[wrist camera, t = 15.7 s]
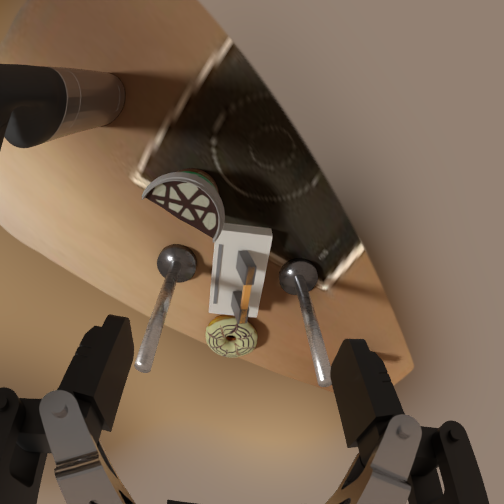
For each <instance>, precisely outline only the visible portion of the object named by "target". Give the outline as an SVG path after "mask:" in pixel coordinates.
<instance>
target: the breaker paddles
mask: <svg viewBox="0 0 504 504" xmlns="http://www.w3.org/2000/svg"><path fill="white" fill-rule="evenodd" d="M236 269H237V271H238V274H239V276H240V278H241V280H242V283H243V292H242V291H233V292H232V300H231V307H232V310H233V313H234V316H235V318H236V321H237V324H245V323H247V320H248V314H249V307H248V304H249V298H250V293H251V287H252V285H254V281H255V275H256V269H257V266H256V265H255V263H254V261H253V259H252V257H251V255H250V254H249V252H248V251H238V255H237V263H236Z"/></svg>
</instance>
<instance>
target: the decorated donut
mask: <svg viewBox="0 0 504 504" xmlns="http://www.w3.org/2000/svg"><path fill="white" fill-rule="evenodd" d="M229 335H233V336H235V337H234V338H231V337H228V336H229ZM257 338H258V336H257V332H256V330H255V328H254V327H253V326H252V325H251V324H250V323H249V322H248V321H247V323H245V324H237V321H236V318H235V316H234V315H220V316H217V317H216V318H215V319H213V320H212V321H211V322H210V323H209V325H208V326H207V328H206V341H207V344H208V346H209V347H210V348H211V349H212V350H213V351H214V352H215V353H217V354H219V355H222V356H225V357H240V356H243V355H246V354H248V353H250V352H252V351H253V350H254V348H255V347H256V344H257Z"/></svg>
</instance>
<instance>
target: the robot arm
mask: <svg viewBox="0 0 504 504" xmlns="http://www.w3.org/2000/svg"><path fill="white" fill-rule="evenodd" d="M124 101H125V90H124V86H123V84H122V82H121V81H120V80H119V78H118V77H116V76H115V75H113V74H111V73H105V72H98V71H91V70H83V69H73V68H61V67H60V68H59V67H40V66H30V65H18V64H0V150H1V146H2V142H3V139H4V137H5V138H6V140H7V141H8V142H9V143H11V144H12V145H14V146H16V147H19V148H29V147H33V146H36V145H39V144H42V143H45V142H48V141H51V140H54V139H57V138H60V137H64V136H67V135H70V134H74V133H77V132H81V131H85V130H88V129H93V128H96V127H100V126H104V125H107V124H109V123H111V122H112V121H113V120H115V118H116V117H117V116H118V115H119V113H120V112H121V110H122V108H123V105H124ZM133 356H134V344H133V338H132V332H131V326H130V320H129V318H126V317H121V316H115V315H108V316H107V318H106V320H105V322H104V324H103V326H102V327H99V326H94V327H93V328H92V329H90V330H89V331H88V332H87V333H86V334H85V335H84V337H83V339H82V341H81V343H80V346H79V347H78V349H77V351H76V353H75V356H74V357H73V359H72V361H71V363H70V365H69V367H68V369H67V371H66V373H65V375H64V377H63V380H62V382H61V384H60V386H59V388H58V389H57V390H55V391H52V392H49V393H48V394H46V395H45V396H44V397H43V398H42V399H26V398H18V396H17V395H16V393H15V392H14V391H13V390H11V389H9V388H0V504H36V503H37V498H38V492H39V488H40V483H41V478H42V474H43V469H44V465H45V461H46V457H47V453H52V454H53V457H54V460H55V463H56V468H55V469H54V470H55V471H54V472H55V476H56V480H57V482H58V485H59V487H60V489H61V492H62V494H63V496H64V498H65V500H66V503H67V504H136V503H135V502H134V500H133V499H132V497H131V496H130V494H129V492H128V491H127V489H126V488H125V487H124V485H123V484H122V482H121V481H120V479H119V477H118V475H117V474H116V471H115V470H114V468H113V466H112V464H111V462H110V460H109V458H108V456H107V454H106V452H105V450H104V448H103V446H102V444H101V442H100V440H99V438H100V434H101V430H106V431H110V432H111V430H112V426H113V423H114V420H115V416H116V413H117V409H118V406H119V402H120V399H121V396H122V392H123V389H124V386H125V383H126V380H127V377H128V373H129V370H130V367H131V364H132V361H133ZM330 377H331V382H332V386H333V390H334V394H335V397H336V402H337V406H338V410H339V414H340V417H341V422H342V426H343V430H344V434H345V439H346V443H347V447H348V448H351V447H358V448H359V453H358V454H357V455H356V457H355V459H354V461H353V463H352V465H351V466H350V468H349V470H348V472H347V474H346V475H345V477H344V479H343V481H342V482H341V484H340V486H339V487H338V489H337V490H336V492H335V493H334V494H333V496H332V497H331V498H330V499H329V500H328V501H327V502H326V503H325V504H406V502H407V499H408V501H409V504H489V501H488V498H487V494H486V490H485V487H484V483H483V480H482V476H481V473H480V470H479V467H478V464H477V461H476V458H475V455H474V452H473V450H472V447H471V445H470V441H469V439H468V436H467V433H466V431H465V429H464V427H463V426H462V425H461V424H459V423H458V422H456V421H447V422H445V423H444V424H443V425H442V426H441V427H439V428H431V427H422V426H420V425H419V423H418V422H417V421H416V420H415V419H414V418H413V417H411V416H409V415H405V413H404V412H403V409H402V406H401V404H400V401H399V399H398V397H397V394H396V391H395V389H394V386H393V384H392V382H391V379H390V377H389V374H387V369H386V367H385V365H384V362H383V361H382V360H381V359H380V357H379V356H378V355H377V354H376V353H375V352H370V350H369V348H368V345H367V343H366V341H365V340H364V339H345V340H344V341H343V342H342V344H341V346H340V349H339V351H338V353H337V355H336V357H335V359H334V361H333V363H332V366H331V370H330ZM437 467H439V469H440V472H441V476H442V480H443V483H444V488H445V491H444V494H443V492H442V488H441V484H440V480H439V476H438V473H437V469H436V468H437ZM167 504H194V503H187V502H179V501H173V500H167ZM195 504H196V503H195Z"/></svg>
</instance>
